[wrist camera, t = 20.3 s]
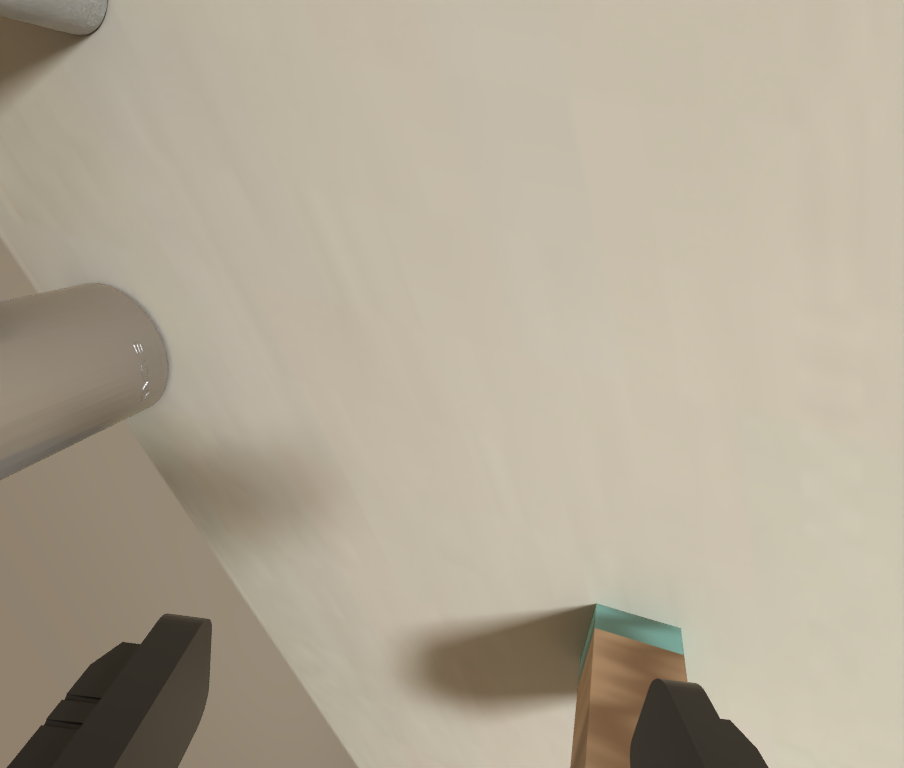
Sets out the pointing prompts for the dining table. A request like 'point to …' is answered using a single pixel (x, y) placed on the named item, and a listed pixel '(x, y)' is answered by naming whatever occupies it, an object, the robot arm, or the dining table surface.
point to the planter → (57, 13)
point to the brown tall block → (619, 683)
